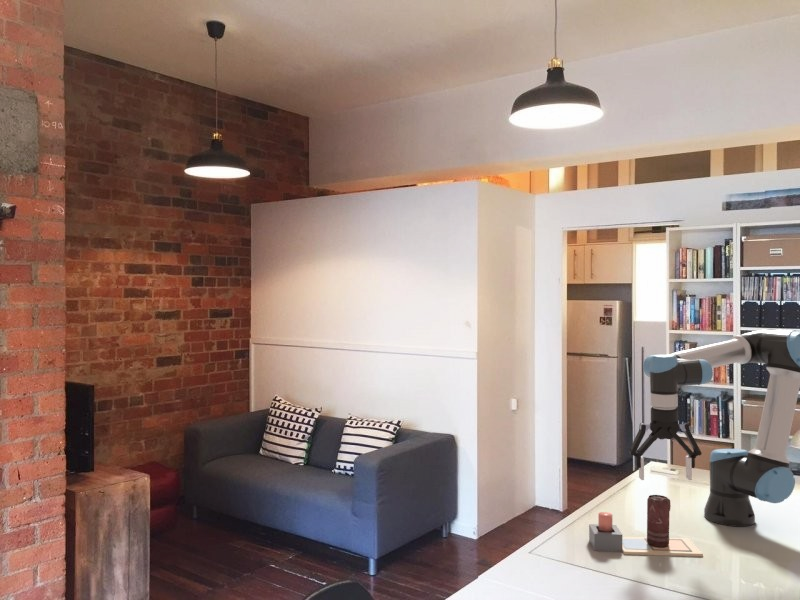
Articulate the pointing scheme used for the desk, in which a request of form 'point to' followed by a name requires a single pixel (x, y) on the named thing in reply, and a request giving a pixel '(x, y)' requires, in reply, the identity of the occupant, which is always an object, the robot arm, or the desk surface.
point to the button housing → (605, 539)
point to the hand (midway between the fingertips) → (665, 478)
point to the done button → (605, 521)
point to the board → (673, 549)
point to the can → (658, 521)
